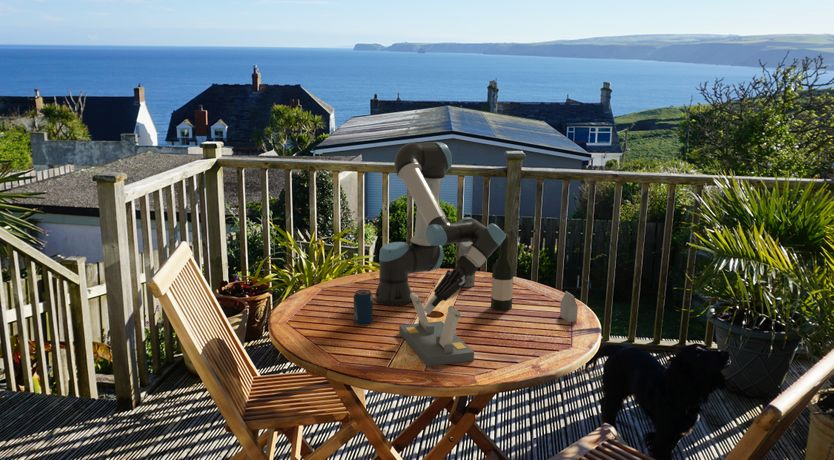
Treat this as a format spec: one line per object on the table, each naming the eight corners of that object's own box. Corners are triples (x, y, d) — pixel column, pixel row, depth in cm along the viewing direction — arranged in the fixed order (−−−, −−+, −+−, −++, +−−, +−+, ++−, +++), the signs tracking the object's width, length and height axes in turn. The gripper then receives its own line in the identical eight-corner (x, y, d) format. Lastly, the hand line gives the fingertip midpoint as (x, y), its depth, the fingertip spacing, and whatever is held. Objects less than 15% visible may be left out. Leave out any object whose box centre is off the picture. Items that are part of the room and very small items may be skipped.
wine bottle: (511, 304, 276) (514, 232, 269) (512, 311, 267) (515, 237, 261) (490, 303, 276) (493, 231, 270) (490, 310, 268) (494, 236, 262)
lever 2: (443, 343, 225) (454, 306, 223) (450, 350, 219) (461, 312, 218) (438, 342, 224) (448, 305, 222) (444, 349, 218) (455, 311, 217)
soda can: (375, 321, 254) (376, 290, 251) (366, 327, 248) (366, 295, 245) (359, 318, 257) (359, 288, 254) (350, 324, 250) (350, 293, 248)
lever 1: (425, 323, 241) (414, 291, 237) (431, 329, 236) (419, 296, 232) (420, 325, 241) (409, 294, 237) (426, 331, 235) (414, 299, 231)
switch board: (441, 328, 247) (441, 314, 246) (473, 360, 219) (474, 344, 218) (399, 333, 242) (399, 318, 241) (427, 366, 214) (427, 349, 213)
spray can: (477, 283, 303) (479, 240, 299) (472, 288, 296) (474, 244, 291) (459, 281, 306) (460, 238, 302) (454, 286, 298) (455, 242, 294)
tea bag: (567, 322, 257) (569, 296, 254) (559, 316, 263) (561, 291, 261) (576, 321, 257) (578, 296, 255) (568, 315, 264) (570, 290, 262)
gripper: (484, 273, 234) (439, 324, 232) (470, 263, 246) (426, 312, 244) (470, 259, 231) (424, 311, 229) (456, 250, 243) (412, 299, 241)
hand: (425, 311), depth 237 cm, fingers closed
